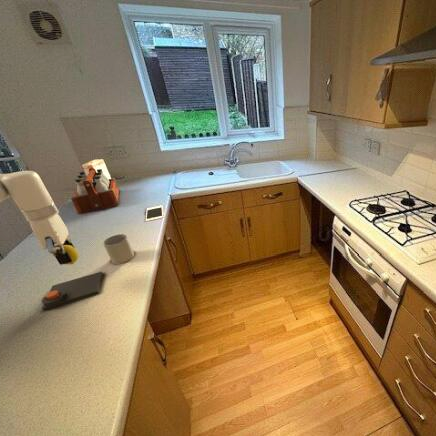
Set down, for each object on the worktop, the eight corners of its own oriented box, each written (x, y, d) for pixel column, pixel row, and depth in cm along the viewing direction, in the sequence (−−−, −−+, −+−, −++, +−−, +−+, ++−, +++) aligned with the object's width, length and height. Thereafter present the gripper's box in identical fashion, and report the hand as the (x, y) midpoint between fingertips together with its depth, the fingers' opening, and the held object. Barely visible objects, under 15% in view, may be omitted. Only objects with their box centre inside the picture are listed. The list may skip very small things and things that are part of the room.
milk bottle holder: (120, 190, 178) (109, 164, 169) (119, 207, 152) (107, 177, 142) (84, 196, 168) (72, 170, 159) (77, 215, 142) (61, 185, 133)
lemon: (59, 271, 81) (47, 251, 77) (65, 261, 85) (54, 243, 82) (79, 266, 83) (68, 247, 79) (84, 257, 87) (74, 239, 83)
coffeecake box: (104, 183, 193) (93, 159, 183) (113, 183, 193) (103, 159, 184) (92, 190, 179) (81, 164, 170) (102, 189, 180) (91, 164, 171)
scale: (44, 313, 79) (38, 305, 77) (55, 289, 89) (50, 282, 87) (99, 295, 85) (95, 288, 83) (103, 275, 95) (99, 268, 93)
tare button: (46, 301, 79) (44, 298, 78) (49, 295, 82) (47, 292, 81) (58, 298, 80) (56, 294, 80) (60, 292, 83) (58, 289, 82)
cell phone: (162, 206, 150) (162, 205, 149) (163, 218, 135) (163, 217, 135) (147, 209, 146) (146, 208, 146) (146, 222, 132) (145, 220, 132)
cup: (107, 262, 102) (97, 243, 97) (125, 251, 108) (117, 233, 104) (121, 266, 99) (112, 247, 94) (139, 255, 106) (131, 236, 101)
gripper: (34, 204, 79) (61, 248, 88) (12, 226, 66) (47, 276, 75) (63, 199, 82) (86, 242, 91) (48, 219, 69) (77, 268, 78)
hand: (68, 257), depth 83 cm, fingers closed on lemon, 5 cm apart
